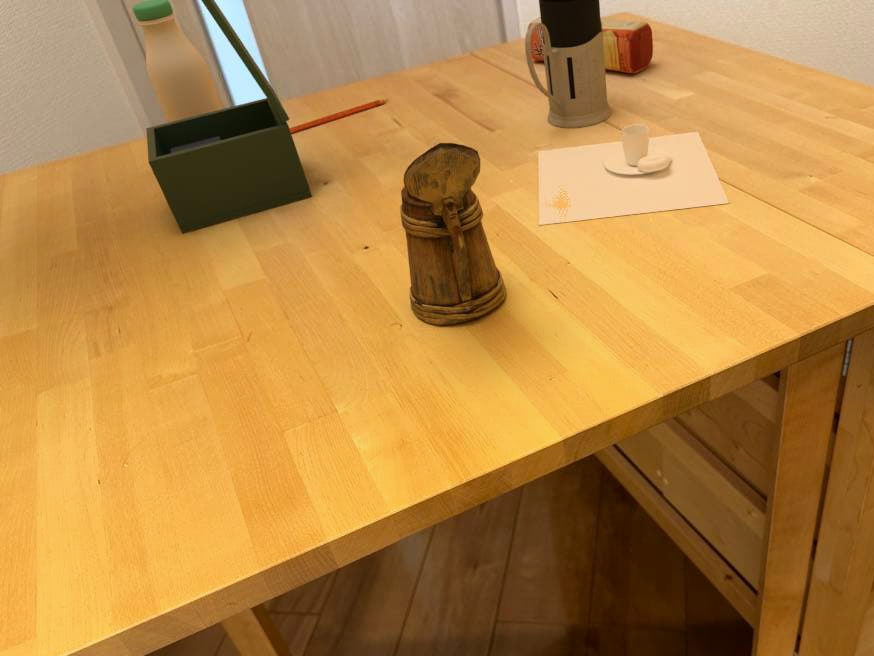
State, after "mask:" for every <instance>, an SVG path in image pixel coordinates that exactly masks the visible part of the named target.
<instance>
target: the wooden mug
mask: <svg viewBox="0 0 874 656" xmlns="http://www.w3.org/2000/svg"><path fill="white" fill-rule="evenodd" d="M480 173H481V157H480V154H479V152H478V150H476V149H475V148H473V147H470V146H467V145H464V144H459V143H455V142H439V143H437V144H435V145H434V146H433V147H430V148H429V149H428V150H426V151H425V152H423V153H422V154H420V155H419V156H418V157H416V158H415V159H414V160H413V161H412V162H411V163H410V164H409V165H408V166H407V167H406V171H405V172H404V175H403V185H404V186H403V187H402V189H401V191H400V195H401V204H400V208H399V210H400V220H401V226H402V228H403V229H404V232H405V239H406V247H407V257H408V259H407V260H408V268H409V278H410V287H409V302H410V309H411V310H412V313H413V314H414V315H415V316H416V317H417V318H419V319H421V320H422V321H424V322H425V323H429V324H433V325H458V324H464V323H467V322H470V321H475V320H478V319H480V318H482V317H485V316H487V315H488V314H490V313H492V312H493V311H494V310H496V309H497V308H498V307H499V306H500V305H501V304H502V303H503V302H504V300H505V298H506V293H507V288H506V284H505V281H504V278H503V275H502V273H501V271H500V269H499V268H498V267H497V265H496V262H495V260H494V256H493V254H492V253H493V252H492V250H491V247H490V244H489V241H488V237H487V235H486V233H485V232H486V231H485V229H484V226H483V222H482V220H483V217H484V211H483V208H482V205H481V202H480V200H479V197H478V195H477V194H476V193H475V192H474V191H473V190H472V187H473V186H474V185H475V183H476V181H477V178H478V176H479V174H480Z"/></svg>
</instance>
